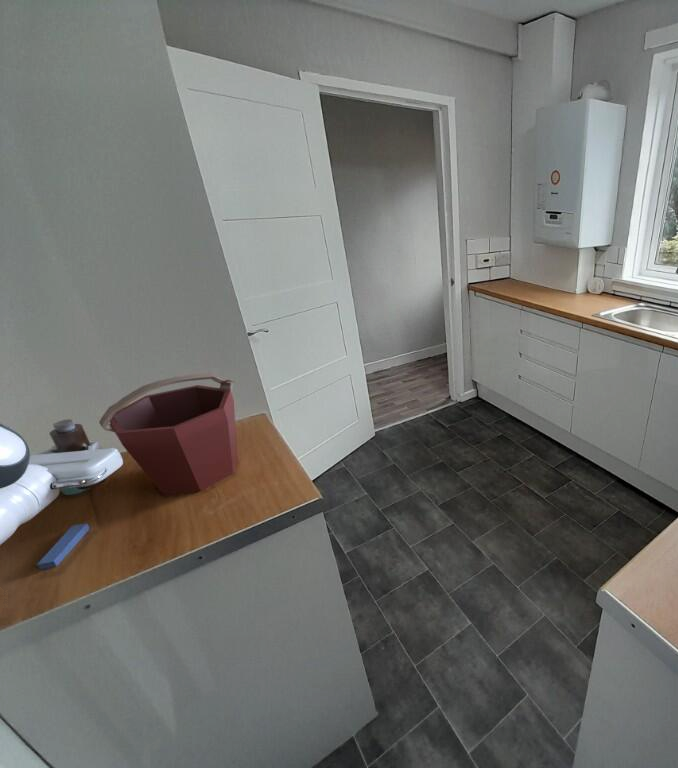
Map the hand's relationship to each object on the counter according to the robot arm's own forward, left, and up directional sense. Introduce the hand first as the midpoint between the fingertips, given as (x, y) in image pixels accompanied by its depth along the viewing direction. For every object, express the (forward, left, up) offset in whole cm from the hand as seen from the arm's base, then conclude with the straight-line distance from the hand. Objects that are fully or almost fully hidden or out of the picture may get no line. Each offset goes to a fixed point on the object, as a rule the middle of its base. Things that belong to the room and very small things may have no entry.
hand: (78, 446), depth 81 cm
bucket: (+17, +2, -17) cm, 24 cm away
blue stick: (-7, -8, -17) cm, 20 cm away
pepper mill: (-1, -1, -8) cm, 8 cm away
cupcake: (-4, +16, -17) cm, 23 cm away
